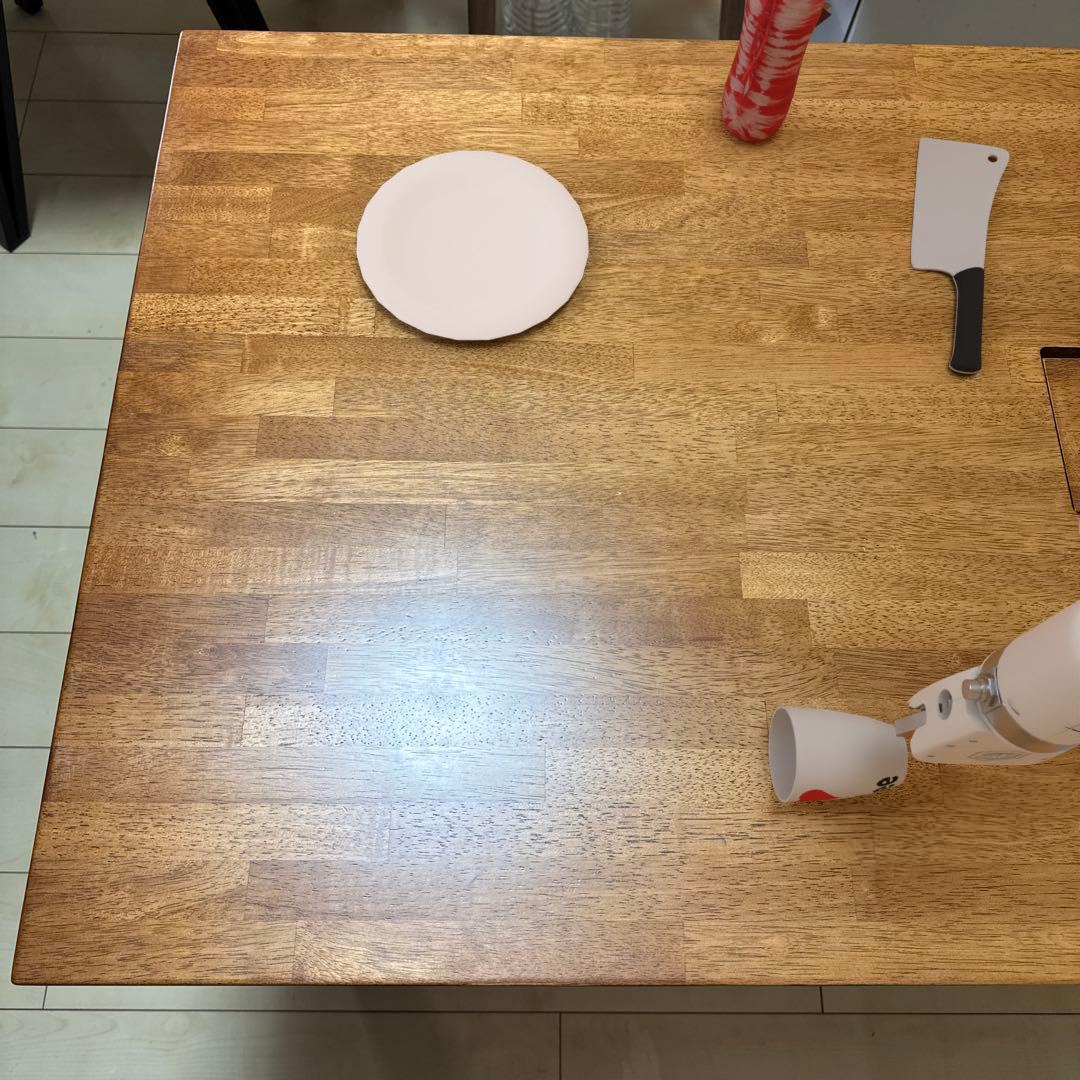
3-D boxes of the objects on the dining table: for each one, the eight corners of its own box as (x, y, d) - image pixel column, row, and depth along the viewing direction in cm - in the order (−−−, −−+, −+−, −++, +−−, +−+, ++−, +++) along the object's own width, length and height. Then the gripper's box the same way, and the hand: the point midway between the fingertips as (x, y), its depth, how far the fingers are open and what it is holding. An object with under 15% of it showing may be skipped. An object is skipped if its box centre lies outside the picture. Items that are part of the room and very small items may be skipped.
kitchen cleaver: (921, 132, 118) (1012, 141, 116) (918, 143, 119) (1007, 152, 118) (896, 358, 106) (996, 372, 105) (892, 367, 108) (990, 381, 106)
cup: (876, 790, 92) (767, 789, 91) (877, 700, 92) (769, 699, 91) (914, 814, 84) (795, 813, 83) (917, 715, 84) (797, 714, 83)
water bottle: (758, 70, 122) (817, -137, 98) (813, 104, 120) (886, -98, 97) (697, 128, 118) (744, -73, 95) (753, 165, 116) (814, -31, 93)
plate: (369, 361, 105) (367, 352, 103) (347, 171, 114) (345, 160, 113) (607, 333, 107) (608, 324, 106) (567, 148, 116) (568, 137, 115)
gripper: (934, 747, 65) (845, 789, 82) (1164, 753, 66) (1028, 794, 83) (920, 635, 68) (837, 698, 85) (1141, 641, 68) (1014, 703, 85)
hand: (931, 745), depth 84 cm, fingers closed
